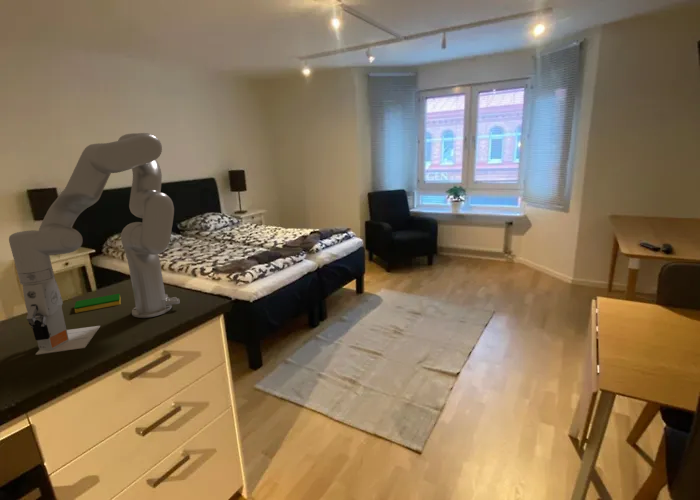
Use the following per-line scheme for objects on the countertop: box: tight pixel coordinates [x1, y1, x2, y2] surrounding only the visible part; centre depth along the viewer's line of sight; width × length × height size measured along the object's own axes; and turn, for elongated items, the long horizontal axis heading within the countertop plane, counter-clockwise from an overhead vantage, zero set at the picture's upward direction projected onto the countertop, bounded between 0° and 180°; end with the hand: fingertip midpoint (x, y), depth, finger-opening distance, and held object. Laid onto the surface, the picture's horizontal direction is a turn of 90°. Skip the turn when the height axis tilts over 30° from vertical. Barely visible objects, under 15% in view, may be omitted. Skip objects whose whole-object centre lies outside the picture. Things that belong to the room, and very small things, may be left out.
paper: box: [35, 325, 101, 356], centre depth 114 cm, size 12×14×1 cm
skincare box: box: [36, 304, 69, 350], centre depth 109 cm, size 6×4×12 cm
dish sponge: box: [73, 293, 122, 314], centre depth 139 cm, size 7×14×2 cm, turn 121°
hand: (50, 331), depth 109 cm, fingers open, 9 cm apart
